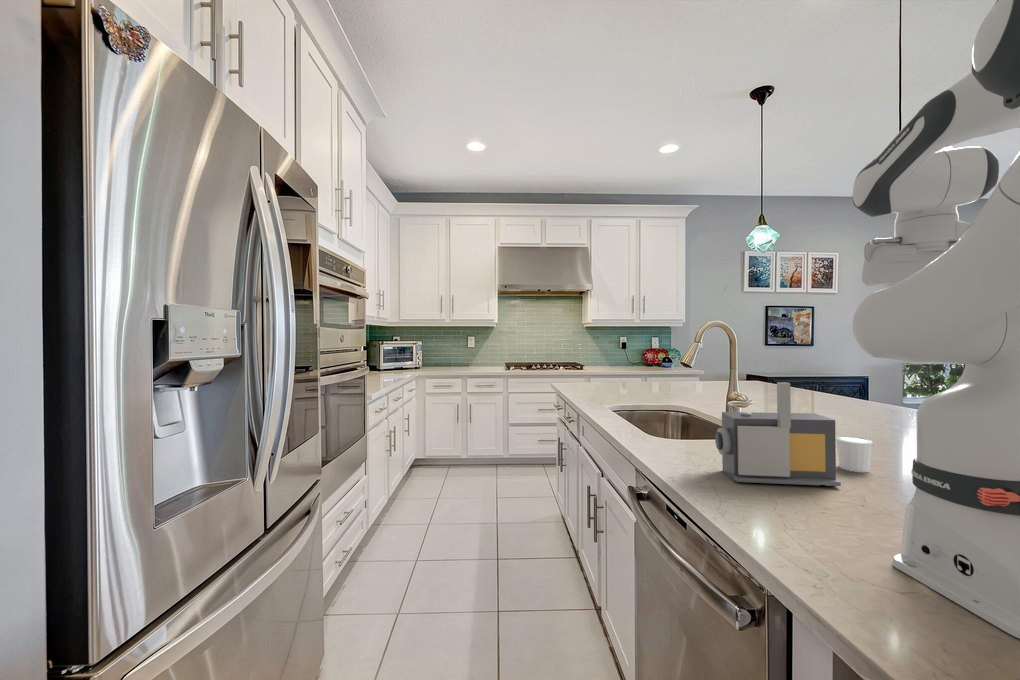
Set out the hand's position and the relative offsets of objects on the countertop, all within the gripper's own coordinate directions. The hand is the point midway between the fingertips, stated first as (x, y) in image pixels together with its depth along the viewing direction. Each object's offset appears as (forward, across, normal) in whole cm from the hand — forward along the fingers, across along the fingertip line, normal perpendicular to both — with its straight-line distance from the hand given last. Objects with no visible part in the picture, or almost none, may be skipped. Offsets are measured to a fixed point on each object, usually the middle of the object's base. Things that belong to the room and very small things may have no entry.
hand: (926, 307), depth 81 cm
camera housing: (+37, -24, +9) cm, 45 cm away
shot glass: (+37, -2, +19) cm, 42 cm away
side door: (+35, -27, +4) cm, 45 cm away
